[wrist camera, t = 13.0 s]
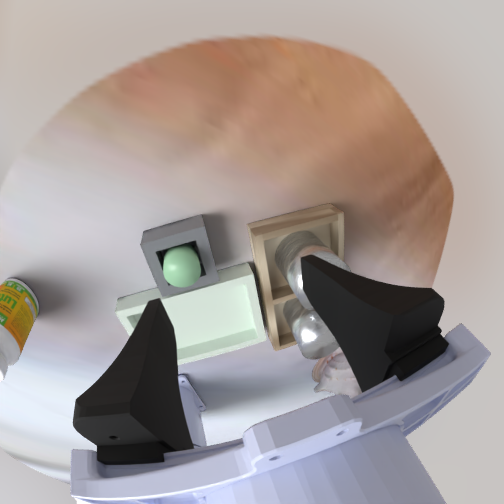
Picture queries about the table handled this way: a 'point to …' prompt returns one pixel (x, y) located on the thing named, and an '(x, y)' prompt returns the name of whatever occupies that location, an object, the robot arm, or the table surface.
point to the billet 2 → (309, 331)
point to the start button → (181, 265)
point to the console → (174, 235)
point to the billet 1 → (291, 262)
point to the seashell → (335, 375)
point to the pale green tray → (206, 314)
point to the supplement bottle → (15, 320)
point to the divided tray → (268, 275)
